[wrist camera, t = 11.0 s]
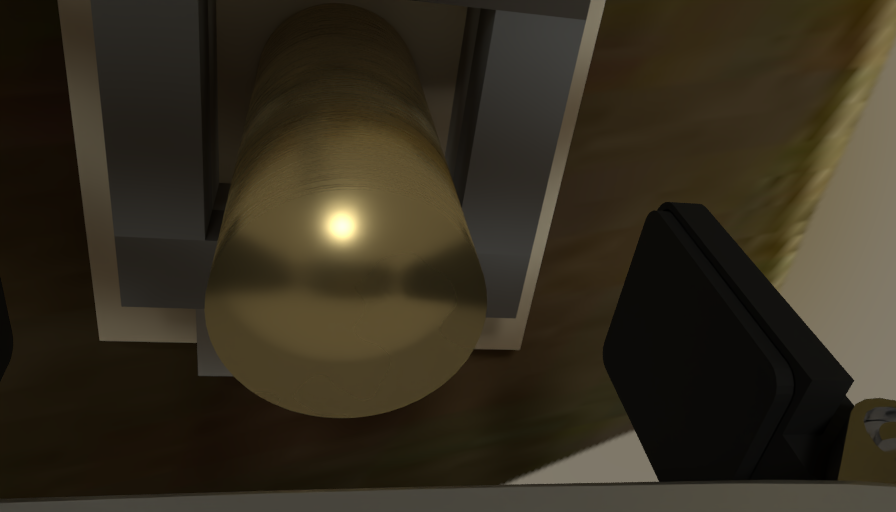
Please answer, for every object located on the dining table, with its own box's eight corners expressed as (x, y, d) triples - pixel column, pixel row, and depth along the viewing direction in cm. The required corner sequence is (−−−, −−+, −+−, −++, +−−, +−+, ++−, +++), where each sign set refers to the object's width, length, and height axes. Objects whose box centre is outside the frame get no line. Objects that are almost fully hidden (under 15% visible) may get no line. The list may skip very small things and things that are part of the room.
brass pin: (258, -7, 18) (200, 179, 9) (425, 12, 19) (510, 199, 10) (256, 149, 20) (207, 417, 11) (406, 160, 21) (464, 418, 12)
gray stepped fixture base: (34, -385, 15) (-64, -440, 11) (646, -266, 17) (736, -278, 14) (111, 310, 24) (71, 412, 20) (510, 322, 26) (542, 414, 22)
